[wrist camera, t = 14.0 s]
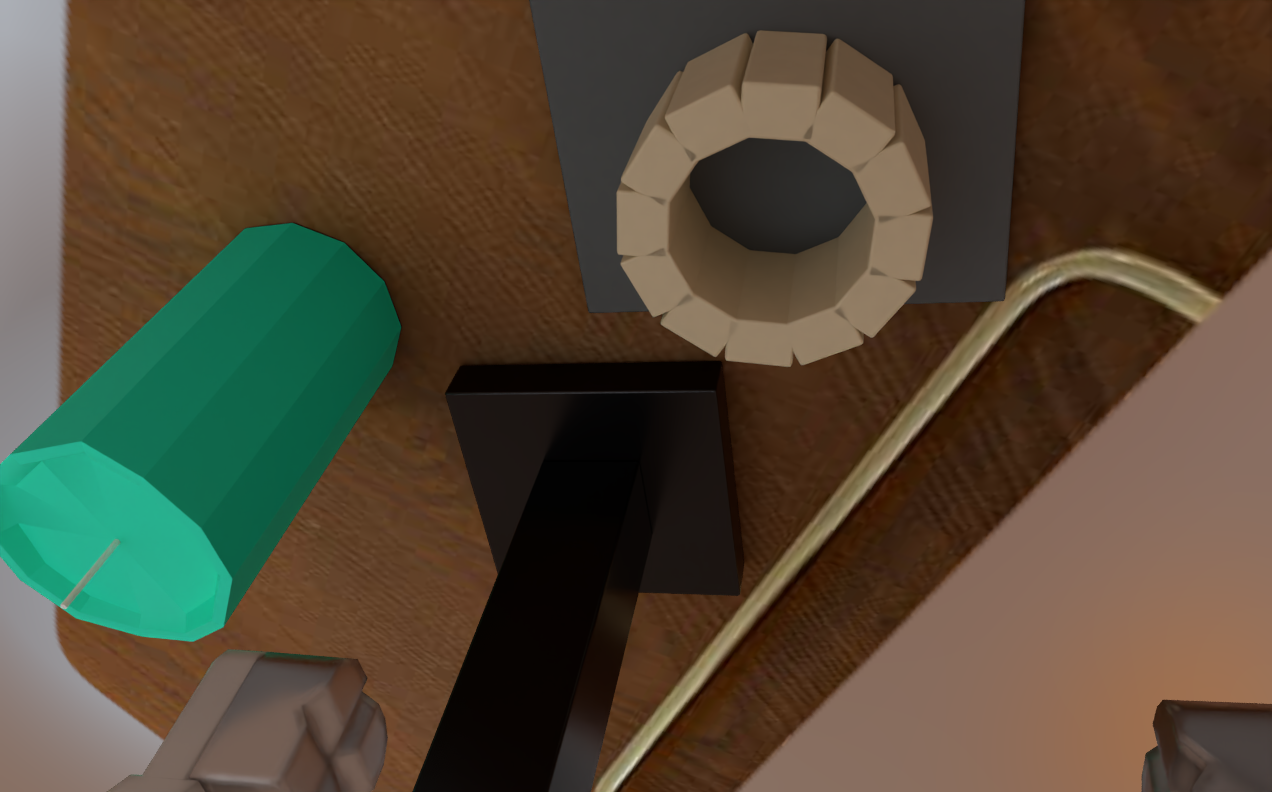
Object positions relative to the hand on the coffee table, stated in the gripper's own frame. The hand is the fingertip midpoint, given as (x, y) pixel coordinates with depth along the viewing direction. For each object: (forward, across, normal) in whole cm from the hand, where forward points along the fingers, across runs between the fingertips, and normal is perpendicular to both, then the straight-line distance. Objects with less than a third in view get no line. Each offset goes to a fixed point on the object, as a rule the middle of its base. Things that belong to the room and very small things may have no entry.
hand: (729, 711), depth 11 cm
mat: (+18, +1, +1) cm, 18 cm away
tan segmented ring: (+17, +1, +2) cm, 18 cm away
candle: (+18, +15, +6) cm, 24 cm away
